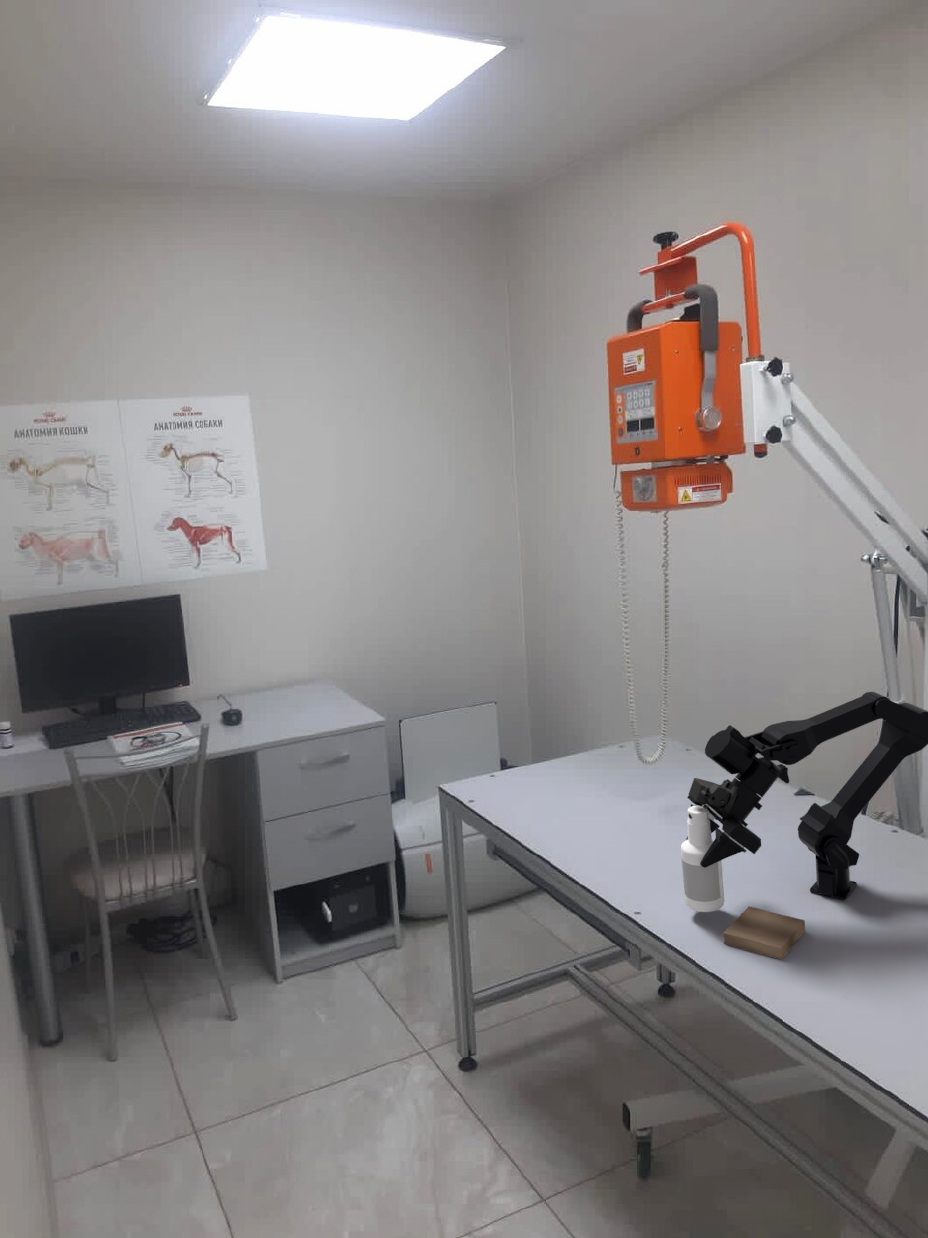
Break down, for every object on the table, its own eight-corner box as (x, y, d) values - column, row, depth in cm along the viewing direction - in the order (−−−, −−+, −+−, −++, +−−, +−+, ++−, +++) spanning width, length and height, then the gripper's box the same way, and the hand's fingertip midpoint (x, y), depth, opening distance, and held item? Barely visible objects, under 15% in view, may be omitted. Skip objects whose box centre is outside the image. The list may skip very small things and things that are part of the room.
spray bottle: (677, 901, 176) (669, 808, 173) (708, 890, 179) (701, 798, 175) (701, 917, 170) (693, 821, 166) (732, 905, 173) (725, 810, 169)
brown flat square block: (749, 916, 173) (748, 906, 172) (805, 931, 166) (804, 920, 166) (724, 943, 165) (723, 933, 165) (781, 959, 159) (781, 948, 158)
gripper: (694, 746, 179) (641, 813, 179) (739, 781, 161) (681, 856, 161) (737, 779, 181) (685, 845, 182) (786, 817, 163) (729, 890, 164)
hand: (693, 857), depth 172 cm, fingers closed on spray bottle, 7 cm apart
